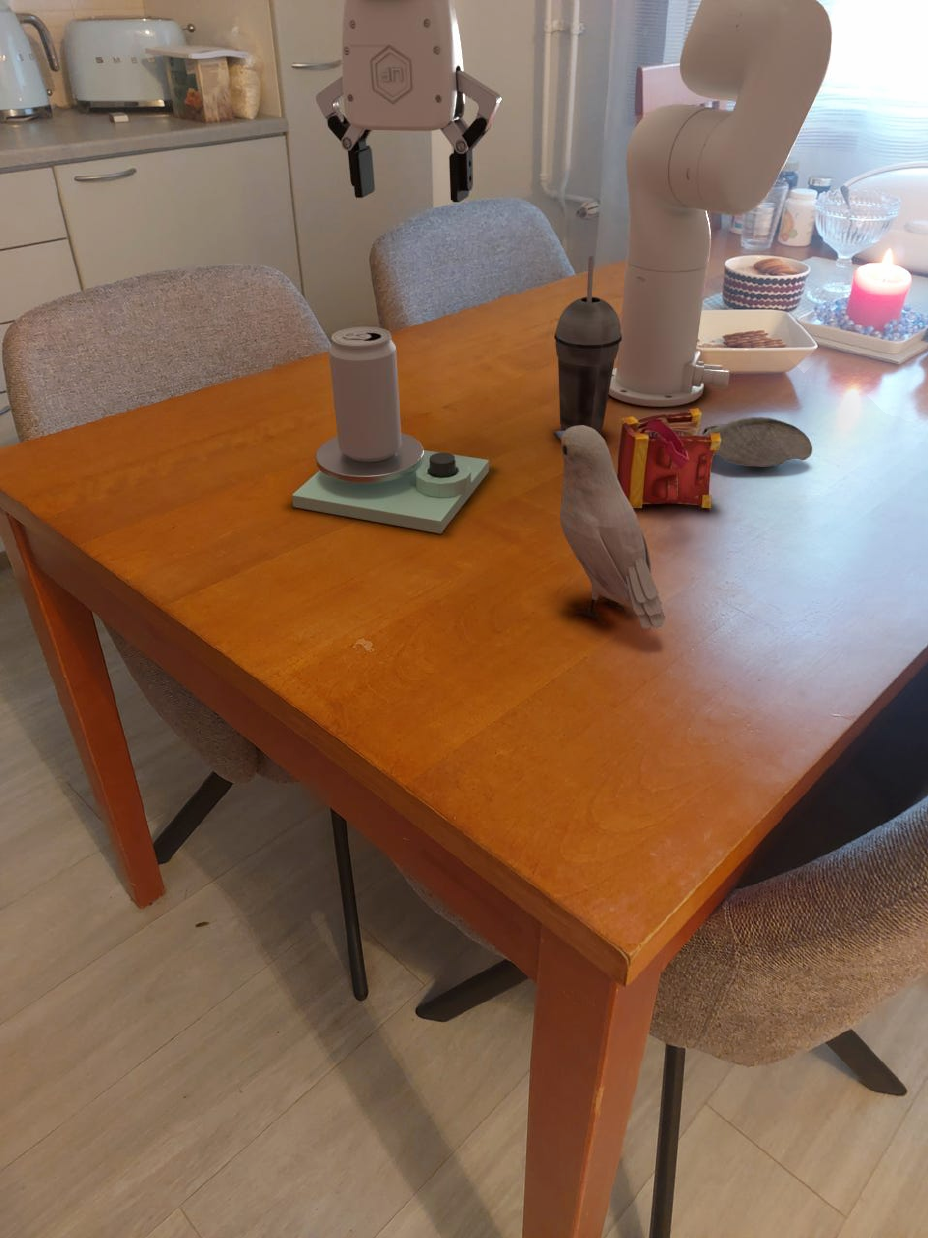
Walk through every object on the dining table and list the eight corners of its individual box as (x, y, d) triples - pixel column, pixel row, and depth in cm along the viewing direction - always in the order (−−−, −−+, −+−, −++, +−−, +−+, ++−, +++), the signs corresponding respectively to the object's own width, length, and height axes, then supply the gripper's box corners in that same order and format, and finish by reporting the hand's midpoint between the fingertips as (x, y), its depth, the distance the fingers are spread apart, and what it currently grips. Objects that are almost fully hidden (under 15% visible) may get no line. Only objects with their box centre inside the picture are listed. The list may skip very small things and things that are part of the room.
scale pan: (440, 444, 94) (439, 437, 94) (397, 490, 86) (397, 483, 85) (346, 430, 97) (345, 424, 97) (296, 473, 89) (295, 466, 88)
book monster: (698, 477, 93) (720, 541, 84) (611, 479, 94) (624, 543, 85) (712, 381, 87) (738, 440, 77) (618, 383, 87) (633, 442, 78)
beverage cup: (618, 427, 104) (635, 247, 93) (605, 453, 99) (622, 265, 87) (557, 420, 106) (567, 243, 95) (542, 445, 101) (550, 260, 89)
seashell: (800, 446, 100) (810, 403, 97) (814, 479, 93) (825, 435, 90) (692, 441, 101) (698, 399, 98) (698, 474, 94) (705, 430, 91)
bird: (567, 564, 80) (577, 405, 72) (678, 636, 71) (706, 464, 63) (525, 582, 78) (530, 420, 69) (634, 658, 69) (656, 484, 60)
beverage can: (399, 465, 88) (392, 345, 81) (335, 465, 89) (322, 345, 82) (404, 438, 94) (398, 323, 87) (343, 438, 94) (332, 323, 87)
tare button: (459, 470, 90) (459, 454, 89) (450, 481, 88) (449, 465, 87) (435, 466, 91) (435, 450, 90) (425, 477, 89) (425, 461, 88)
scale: (491, 472, 95) (491, 446, 94) (443, 534, 85) (442, 506, 83) (354, 450, 100) (352, 425, 98) (293, 507, 90) (289, 480, 88)
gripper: (283, -24, 73) (311, 201, 83) (482, -31, 68) (486, 210, 78) (325, -26, 79) (346, 185, 89) (512, -33, 74) (511, 192, 84)
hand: (411, 196), depth 84 cm, fingers open, 9 cm apart
